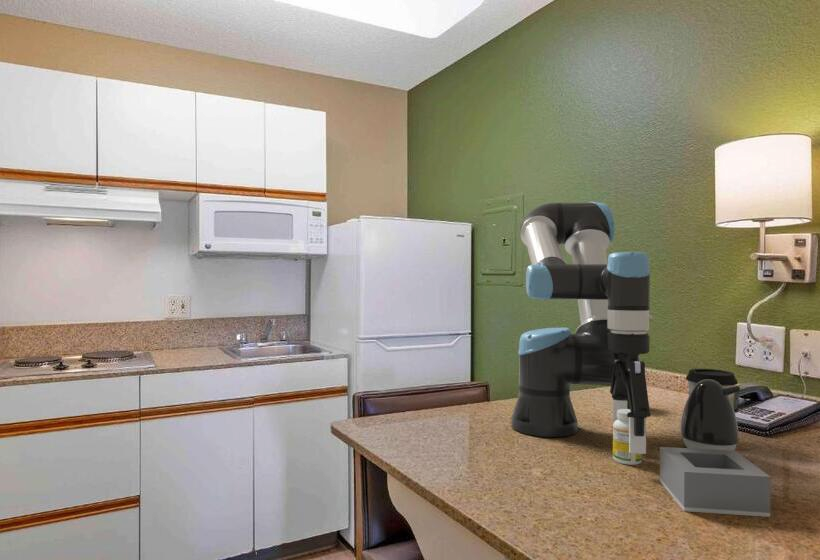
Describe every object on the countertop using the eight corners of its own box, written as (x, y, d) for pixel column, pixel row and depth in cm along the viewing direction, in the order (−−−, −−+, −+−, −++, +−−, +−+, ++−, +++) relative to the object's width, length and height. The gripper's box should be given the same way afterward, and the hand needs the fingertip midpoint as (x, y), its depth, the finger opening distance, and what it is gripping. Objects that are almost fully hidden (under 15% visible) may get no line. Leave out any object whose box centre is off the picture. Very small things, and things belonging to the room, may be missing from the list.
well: (684, 511, 81) (684, 471, 81) (659, 481, 93) (660, 446, 93) (770, 516, 79) (770, 476, 79) (734, 485, 91) (734, 450, 91)
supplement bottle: (618, 465, 100) (619, 414, 100) (608, 455, 106) (608, 407, 106) (647, 465, 100) (647, 415, 100) (635, 456, 106) (635, 407, 106)
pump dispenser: (739, 468, 99) (740, 386, 99) (677, 457, 105) (678, 380, 105) (740, 452, 108) (740, 378, 108) (682, 444, 113) (683, 372, 113)
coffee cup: (745, 449, 110) (745, 377, 110) (693, 446, 112) (694, 375, 112) (726, 435, 119) (727, 369, 119) (679, 432, 121) (680, 367, 121)
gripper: (670, 339, 90) (669, 464, 90) (632, 326, 115) (631, 425, 115) (623, 338, 91) (623, 462, 91) (595, 326, 116) (595, 423, 116)
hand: (628, 441), depth 103 cm, fingers open, 13 cm apart
